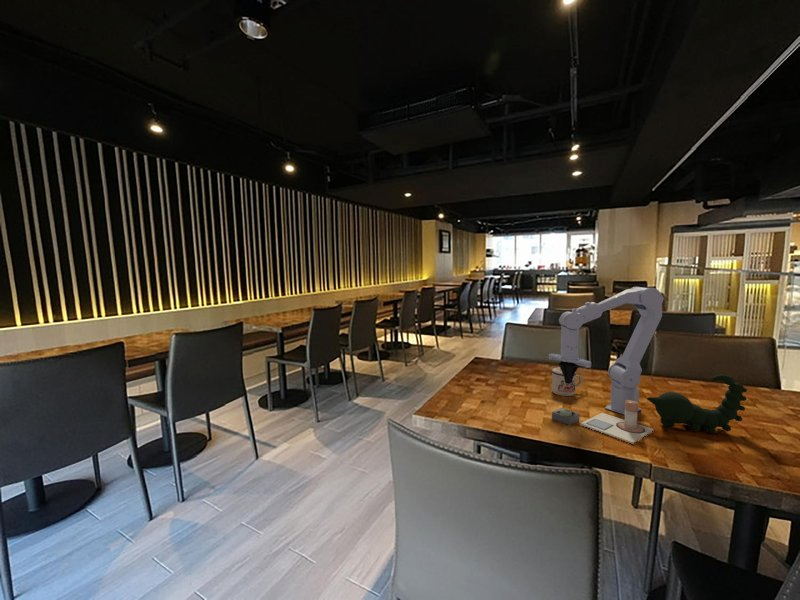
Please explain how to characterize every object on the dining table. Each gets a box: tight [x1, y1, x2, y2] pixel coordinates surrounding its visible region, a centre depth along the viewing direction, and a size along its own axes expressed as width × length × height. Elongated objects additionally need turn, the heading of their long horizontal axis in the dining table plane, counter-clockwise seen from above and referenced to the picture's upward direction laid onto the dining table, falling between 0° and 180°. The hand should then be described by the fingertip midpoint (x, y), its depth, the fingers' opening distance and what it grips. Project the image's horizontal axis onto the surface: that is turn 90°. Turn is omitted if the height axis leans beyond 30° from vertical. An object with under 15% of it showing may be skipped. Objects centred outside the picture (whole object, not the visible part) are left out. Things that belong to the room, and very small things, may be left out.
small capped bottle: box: [623, 400, 639, 430], centre depth 106 cm, size 3×3×8 cm
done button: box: [560, 408, 572, 417], centre depth 114 cm, size 4×4×2 cm
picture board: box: [579, 412, 654, 443], centre depth 107 cm, size 14×15×1 cm
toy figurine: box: [646, 374, 748, 434], centre depth 106 cm, size 9×19×25 cm
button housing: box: [551, 407, 580, 426], centre depth 114 cm, size 6×6×2 cm
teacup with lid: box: [551, 366, 583, 397], centre depth 139 cm, size 12×9×12 cm
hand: (568, 382), depth 123 cm, fingers closed
